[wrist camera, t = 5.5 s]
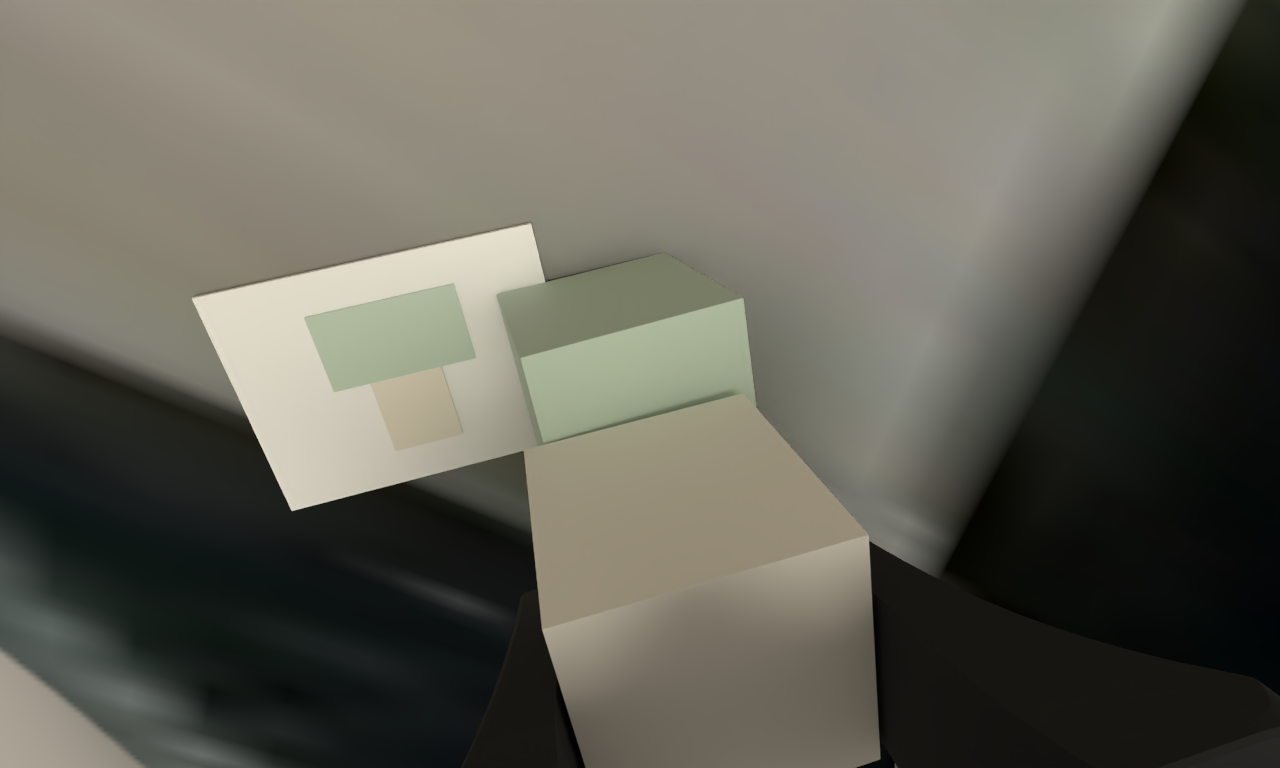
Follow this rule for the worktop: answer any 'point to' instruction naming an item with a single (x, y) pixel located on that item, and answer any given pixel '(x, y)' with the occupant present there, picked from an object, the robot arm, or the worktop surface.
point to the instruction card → (380, 364)
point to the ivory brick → (703, 596)
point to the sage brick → (625, 345)
